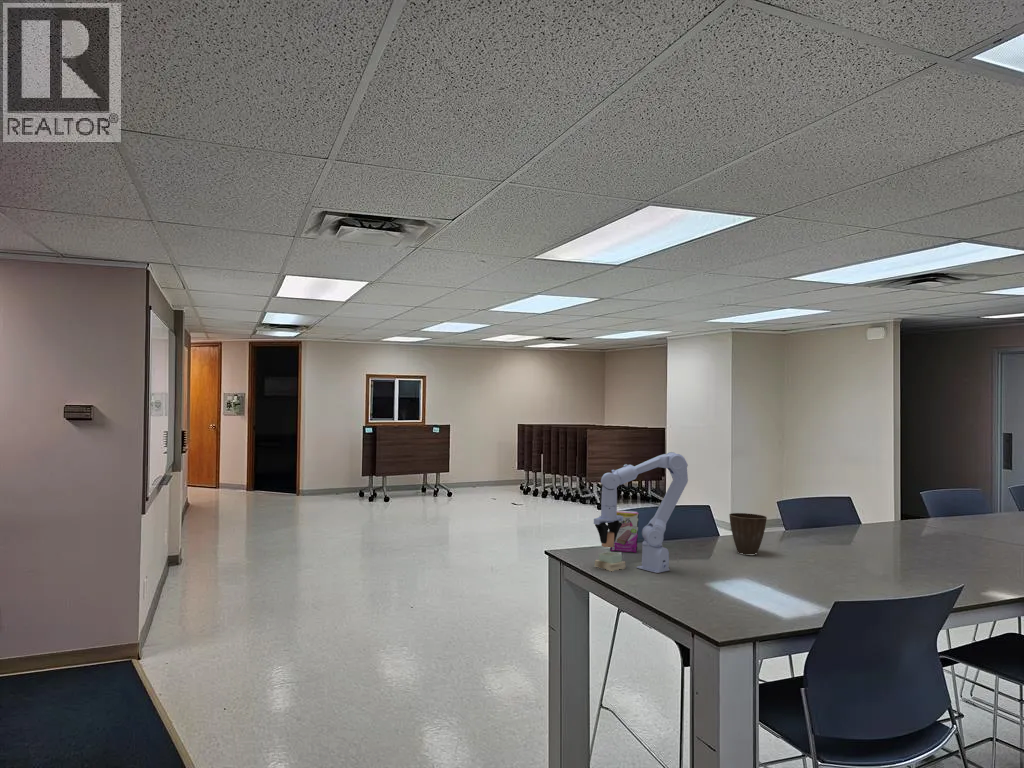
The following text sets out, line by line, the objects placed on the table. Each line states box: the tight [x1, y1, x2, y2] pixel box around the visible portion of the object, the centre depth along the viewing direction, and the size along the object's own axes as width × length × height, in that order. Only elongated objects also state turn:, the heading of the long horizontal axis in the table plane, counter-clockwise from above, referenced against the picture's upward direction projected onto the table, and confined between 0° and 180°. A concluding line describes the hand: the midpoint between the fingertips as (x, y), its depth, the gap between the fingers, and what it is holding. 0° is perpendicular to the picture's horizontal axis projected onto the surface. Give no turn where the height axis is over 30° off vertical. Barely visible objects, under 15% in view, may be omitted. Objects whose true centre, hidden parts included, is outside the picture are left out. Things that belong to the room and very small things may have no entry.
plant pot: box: [728, 512, 768, 554], centre depth 286 cm, size 15×15×16 cm
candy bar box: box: [609, 509, 640, 554], centre depth 281 cm, size 11×5×16 cm, turn 84°
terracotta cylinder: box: [601, 530, 614, 548], centre depth 252 cm, size 5×5×5 cm
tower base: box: [594, 559, 626, 572], centre depth 251 cm, size 8×8×3 cm
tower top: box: [598, 551, 623, 564], centre depth 251 cm, size 6×6×2 cm
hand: (608, 542), depth 252 cm, fingers closed on terracotta cylinder, 5 cm apart
